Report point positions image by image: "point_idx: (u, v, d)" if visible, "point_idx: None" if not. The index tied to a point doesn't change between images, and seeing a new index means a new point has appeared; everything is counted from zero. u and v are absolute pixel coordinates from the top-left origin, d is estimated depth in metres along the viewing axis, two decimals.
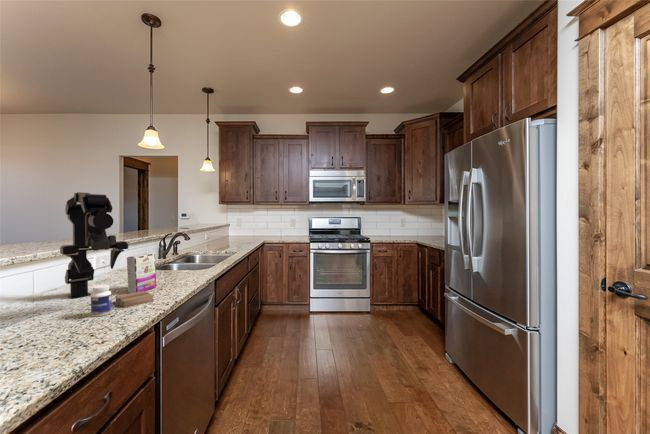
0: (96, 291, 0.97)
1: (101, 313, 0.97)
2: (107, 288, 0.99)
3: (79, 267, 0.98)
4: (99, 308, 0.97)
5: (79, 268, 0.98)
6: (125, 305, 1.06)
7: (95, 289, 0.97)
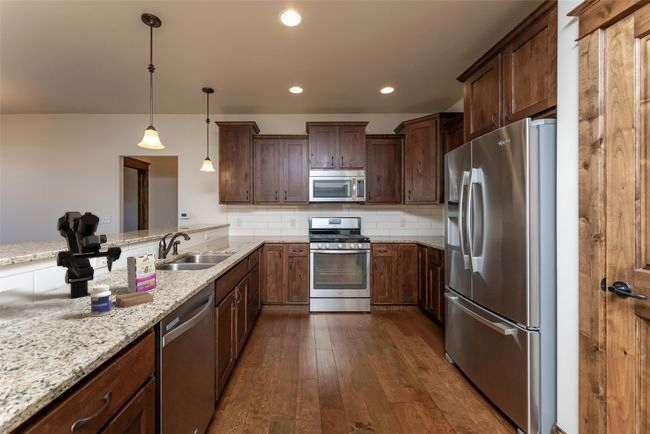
0: (96, 291, 0.97)
1: (101, 313, 0.97)
2: (107, 288, 0.99)
3: (76, 269, 1.01)
4: (99, 308, 0.97)
5: (77, 270, 1.01)
6: (125, 305, 1.06)
7: (95, 289, 0.97)
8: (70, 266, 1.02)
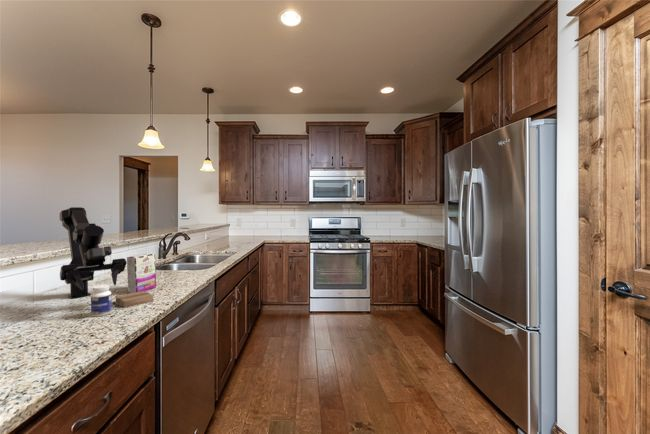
0: (96, 291, 0.97)
1: (101, 313, 0.97)
2: (107, 288, 0.99)
3: (80, 283, 0.97)
4: (99, 308, 0.97)
5: (81, 284, 0.97)
6: (125, 305, 1.06)
7: (95, 289, 0.97)
8: (74, 280, 0.99)
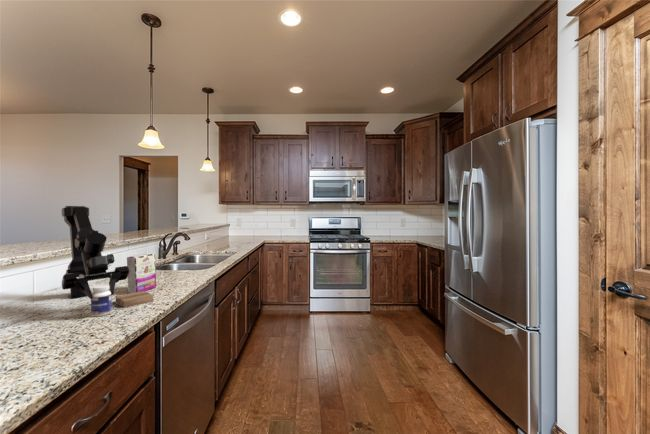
0: (96, 291, 0.97)
1: (101, 313, 0.97)
2: (107, 288, 0.99)
3: (89, 291, 0.97)
4: (99, 308, 0.97)
5: (89, 292, 0.96)
6: (125, 305, 1.06)
7: (95, 289, 0.97)
8: (82, 288, 0.98)
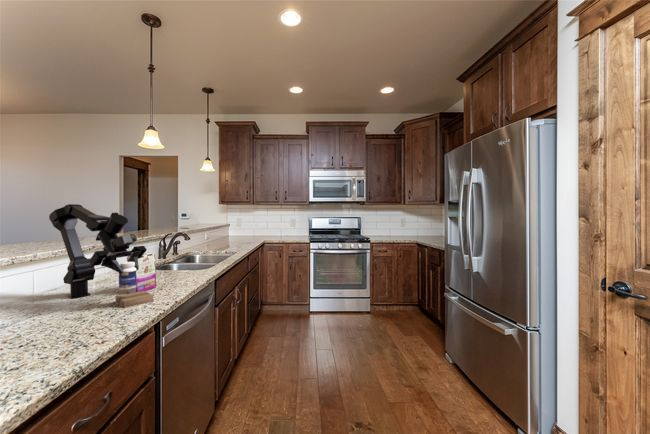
0: (126, 267, 1.07)
1: (130, 286, 1.08)
2: (134, 264, 1.10)
3: (119, 266, 1.06)
4: (129, 282, 1.08)
5: (120, 268, 1.06)
6: (125, 305, 1.06)
7: (125, 265, 1.07)
8: (109, 264, 1.06)
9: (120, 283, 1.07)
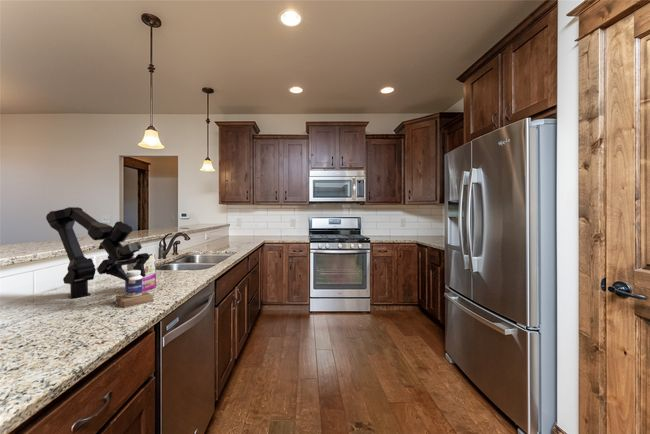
0: (133, 275, 1.11)
1: (137, 294, 1.11)
2: (140, 272, 1.13)
3: (125, 274, 1.09)
4: (136, 289, 1.11)
5: (126, 275, 1.09)
6: (125, 305, 1.06)
7: (132, 273, 1.10)
8: (115, 273, 1.08)
9: (127, 291, 1.10)
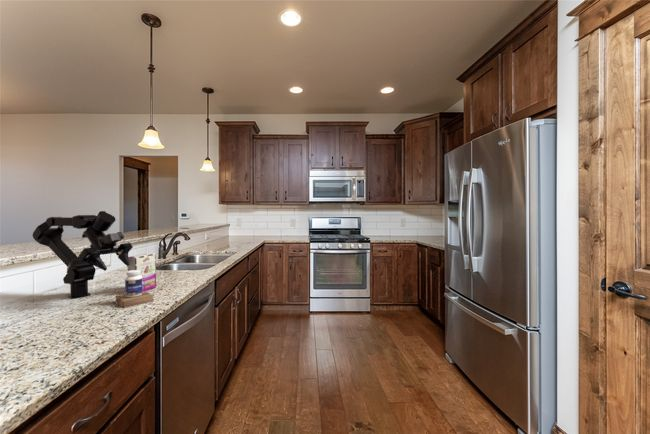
0: (132, 275, 1.11)
1: (137, 294, 1.11)
2: (140, 272, 1.13)
3: (103, 264, 1.10)
4: (136, 289, 1.11)
5: (104, 265, 1.10)
6: (125, 305, 1.06)
7: (131, 273, 1.10)
8: (93, 261, 1.10)
9: (127, 291, 1.10)
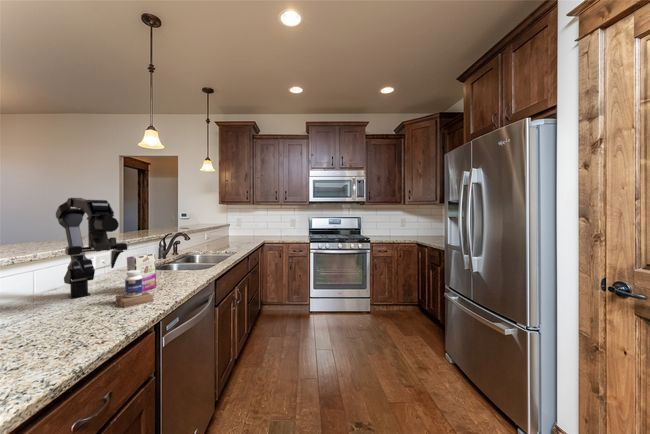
0: (132, 275, 1.11)
1: (137, 294, 1.11)
2: (140, 272, 1.13)
3: (82, 266, 1.08)
4: (136, 289, 1.11)
5: (82, 267, 1.08)
6: (125, 305, 1.06)
7: (131, 273, 1.10)
8: (77, 258, 1.08)
9: (127, 291, 1.10)
